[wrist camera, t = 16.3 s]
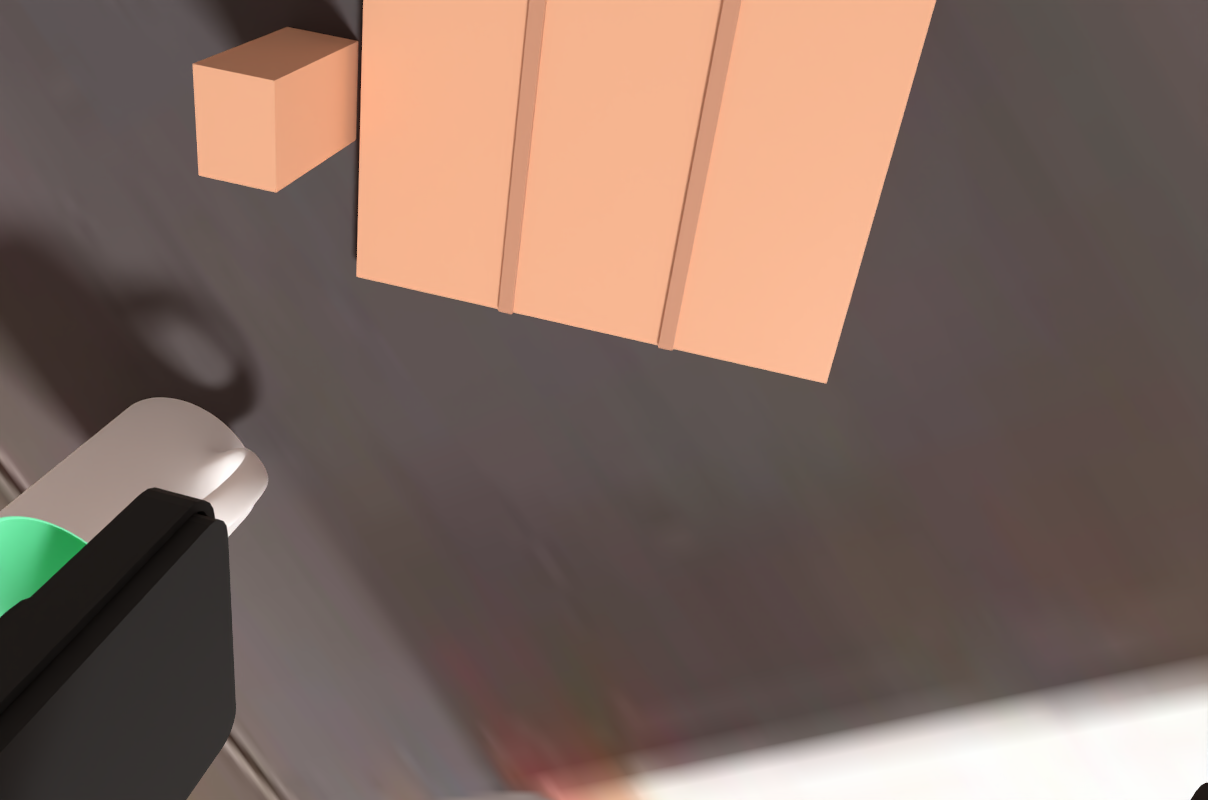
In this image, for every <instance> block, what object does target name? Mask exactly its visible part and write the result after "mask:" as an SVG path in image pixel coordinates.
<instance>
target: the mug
mask: <svg viewBox="0 0 1208 800" xmlns="http://www.w3.org/2000/svg"><path fill="white" fill-rule="evenodd" d="M267 484H268V474H267V471H266V469H265V467H264V465H263V463H262V462H261V460H260V459H259V458H258V456H257V455H256V454H255V453H254V452H253V451H251V450H250V449H247V448H245V447H244V445H243V444H242V442H241V441H240V440H239V438H238V437H237V436H236V435H235V434H234V433H233V431H232V430H231V429H230V428H229V427H228V426H227V425H225V424H224V423H223V422H222V421H221V420H219V419H218V418H217V417H215V416H214V415H212V414H211V413H209V412H208V411H206V410H204V409H202V408H200V407H198V406H196V405H194V404H192V403H189V402H186V401H183V400H179V399H174V398H166V397H156V398H149V399H144V400H141V401H139V402H136V403H134V404H133V405H131V406H130V407H128V408H127V409H126V410H125V411H123V412H122V413H121V414H120V415H119V416H117V417H116V418H115V419H114V420H112V421H111V422H110V423H109V424H107V425H106V426H105V427H104V428H102V429H101V430H100V431H99V432H98V433H96V434H95V435H94V436H93V437H91V438H90V439H89V440H88V441H86V442H85V443H84V444H83V445H81V446H80V447H79V448H78V449H77V450H75V451H74V452H73V453H72V454H70V455H69V456H68V457H67V458H65V459H64V460H63V461H62V462H60V463H59V464H58V465H57V466H56V467H54V468H53V469H52V470H51V471H49V472H48V473H47V474H46V475H44V476H43V477H42V478H41V479H39V480H38V481H37V482H36V483H35V484H33V485H32V486H31V487H30V488H28V489H27V490H26V491H25V492H23V493H22V494H21V495H20V496H19V497H17V498H16V499H15V500H14V501H12V502H11V503H10V504H9V505H7V506H6V507H5V508H4V509H2V510H1V511H0V617H1V616H2V615H3V614H4V613H5V612H6V611H8V610H9V609H10V608H12V607H13V606H14V605H16V604H17V603H19V602H20V601H21V600H24V599H27V598H30V597H31V596H32V595H33V594H34V593H35V592H36V591H37V590H38V589H39V588H41V587H42V586H43V585H44V584H45V583H46V582H47V581H48V580H49V579H50V578H51V577H52V576H53V575H54V574H55V573H56V572H58V571H59V570H60V569H61V568H62V567H63V566H64V565H65V564H66V563H67V562H68V561H69V560H70V559H71V558H72V557H74V556H75V555H76V554H77V553H78V552H79V551H80V550H81V549H82V548H83V547H84V546H85V545H86V544H87V543H88V542H89V541H91V540H92V539H93V538H94V537H95V536H96V535H97V534H98V533H99V532H100V531H101V530H102V529H103V528H104V527H105V526H107V525H108V524H109V523H110V522H111V521H112V520H113V519H114V518H115V517H116V516H117V515H118V514H119V513H120V512H121V511H122V510H124V509H125V508H126V507H127V506H128V505H129V504H130V503H131V502H132V501H133V500H134V499H135V498H136V497H137V496H138V495H140V494H141V493H142V492H144V491H145V490H147V489H149V488H154V487H156V488H160V489H164V490H167V491H171V492H175V493H179V494H182V495H186V496H190V497H194V498H198V499H201V500H205V501H207V502H210V504H211V505H212V507H213V509H214V514H215V519H219V520H222V521H224V522H225V524H226V526H227V531H228V537H229V536H230V535H231V533H232V532H233V531H234V530H235V529H236V528H237V527H238V525H239V524H240V523H241V522H242V521H243V520H244V519H245V517H246V516H247V515H248V514H249V513H250V511H251V510H252V508H253V506H254V504H255V503H256V501H257V500H258V499H259V498H260V496H261V495H262V494H263V492H264V490H265V489H266V487H267Z"/></svg>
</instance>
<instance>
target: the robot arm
mask: <svg viewBox="0 0 1208 800" xmlns="http://www.w3.org/2000/svg"><path fill="white" fill-rule="evenodd" d="M235 712H236V701H235V679H234V657H233V635H232V613H231V592H230V570H229V548H228V531H227V526H226V524H225V522H224V521H222V520H219V519H215V514H214V509H213V507H212V505H211V504H210V502H207V501H205V500H201V499H198V498H194V497H190V496H186V495H182V494H179V493H175V492H171V491H167V490H164V489H160V488H156V487H154V488H149V489H147V490H145V491H144V492H142V493H141V494H140V495H138V496H137V497H136V498H135V499H134V500H133V501H132V502H131V503H130V504H129V505H128V506H127V507H126V508H125V509H124V510H122V511H121V512H120V513H119V514H118V515H117V516H116V517H115V518H114V519H113V520H112V521H111V522H110V523H109V524H108V525H107V526H105V527H104V528H103V529H102V530H101V531H100V532H99V533H98V534H97V535H96V536H95V537H94V538H93V539H92V540H91V541H89V542H88V543H87V544H86V545H85V546H84V547H83V548H82V549H81V550H80V551H79V552H78V553H77V554H76V555H75V556H74V557H72V558H71V559H70V560H69V561H68V562H67V563H66V564H65V565H64V566H63V567H62V568H61V569H60V570H59V571H58V572H56V573H55V574H54V575H53V576H52V577H51V578H50V579H49V580H48V581H47V582H46V583H45V584H44V585H43V586H42V587H41V588H39V589H38V590H37V591H36V592H35V593H34V594H33V595H32V596H31V597H30V598H27V599H24V600H21V601H20V602H19V603H17V604H16V605H14V606H13V607H12V608H10V609H9V610H8V611H6V612H5V613H4V614H3V615H2V616H1V617H0V800H186V799H187V798H188V796H189V795H190V794H191V792H192V791H193V789H194V788H195V786H196V785H197V783H198V782H199V781H200V779H201V778H202V776H203V775H204V773H205V772H206V770H207V769H208V768H209V766H210V765H211V763H212V762H213V760H214V759H215V757H216V756H217V755H218V753H219V752H220V750H221V749H222V747H223V746H224V744H225V742H226V741H227V738H228V736H229V734H230V732H231V729H232V726H233V723H234V718H235ZM1191 800H1208V783H1205V784H1203V785H1201V786H1200V787H1199V789H1198V790H1197V791H1196V792H1195V794H1194V795H1193V797H1192V799H1191Z"/></svg>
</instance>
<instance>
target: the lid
mask: <svg viewBox="0 0 1208 800" xmlns="http://www.w3.org/2000/svg"><path fill="white" fill-rule="evenodd" d="M935 2H936V0H363V31H362V72H361V114H360V155H359V196H358V237H357V277H360V278H365V279H369V280H373V281H378V282H382V283H387V284H391V285H395V286H400V287H404V288H409V289H413V290H417V291H422V292H426V293H431V294H435V295H439V296H444V297H448V298H453V299H457V300H461V301H466V302H470V303H474V304H479V305H483V306H488V307H492V308H496V309H498V311H500V312H504V313H509V314H512V313H513V312H514V313H518V314H523V315H527V316H532V317H536V318H540V319H545V320H549V321H554V322H558V323H562V324H567V325H571V326H576V327H580V328H584V329H589V330H593V331H598V332H602V333H606V334H611V335H615V336H620V337H624V338H628V339H633V340H637V341H642V342H646V343H650V344H655V345H658V348H662V349H667V350H671V351H672V349H677V350H681V351H685V352H690V353H694V354H699V355H703V356H707V357H712V358H716V359H721V360H725V361H729V362H734V363H738V364H743V365H747V366H751V367H756V368H760V369H765V370H769V371H773V372H778V373H782V374H787V375H791V376H795V377H800V378H804V379H809V380H813V381H817V382H822V383H827V379H828V376H829V372H830V369H831V365H832V362H833V358H834V355H835V351H836V348H837V344H838V341H839V337H840V334H841V330H842V327H843V323H844V320H845V316H846V313H847V309H848V306H849V302H850V299H851V295H852V292H853V288H854V285H855V281H856V278H857V274H858V271H859V267H860V264H861V260H862V257H863V253H864V250H865V246H866V243H867V240H868V236H869V233H870V229H871V226H872V222H873V219H874V215H875V212H876V208H877V205H878V201H879V198H880V194H881V191H882V187H883V184H884V180H885V177H886V173H887V170H888V166H889V163H890V159H891V156H892V152H893V149H894V145H895V142H896V138H897V135H898V131H899V128H900V124H901V121H902V117H903V114H904V110H905V107H906V103H907V100H908V96H909V93H910V89H911V86H912V82H913V79H914V75H915V72H916V68H917V65H918V61H919V58H920V54H921V51H922V47H923V44H924V41H925V37H926V34H927V30H928V27H929V23H930V20H931V16H932V13H933V9H934V6H935ZM193 79H194V97H195V115H196V133H197V151H198V169H199V176H204V177H208V178H213V179H217V180H222V181H226V182H231V183H235V184H240V185H245V186H249V187H254V188H258V189H263V190H267V191H272V192H278V191H279V190H281V189H282V188H284V187H285V186H287V185H288V184H290V183H291V182H293V181H294V180H296V179H297V178H299V177H300V176H302V175H303V174H305V173H306V172H308V171H309V170H311V169H312V168H314V167H316V166H317V165H319V164H320V163H322V162H323V161H325V160H326V159H328V158H329V157H331V156H332V155H334V154H335V153H337V152H338V151H340V150H341V149H343V148H344V147H346V146H347V145H349V144H350V143H352V142H353V141H355V140H356V123H357V80H358V41H356V40H351V39H346V38H341V37H336V36H331V35H326V34H321V33H316V32H311V31H306V30H301V29H296V28H291V27H286V28H283V29H280V30H278V31H275V32H273V33H270V34H268V35H265V36H263V37H260V38H257V39H255V40H252V41H250V42H247V43H245V44H242V45H239V46H237V47H234V48H232V49H229V50H227V51H224V52H222V53H219V54H216V55H214V56H211V57H209V58H206V59H204V60H201V61H199V62H196V63H193Z"/></svg>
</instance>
